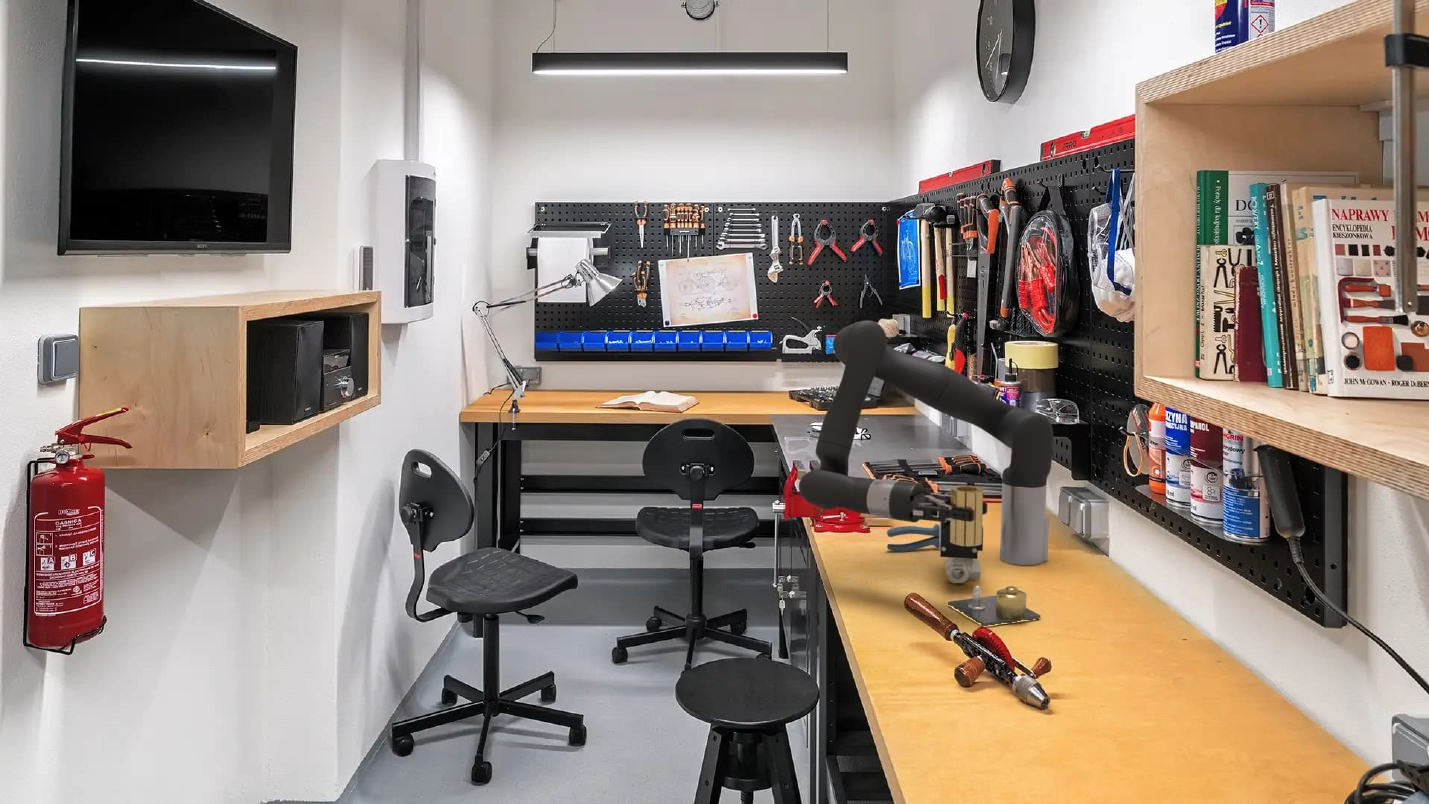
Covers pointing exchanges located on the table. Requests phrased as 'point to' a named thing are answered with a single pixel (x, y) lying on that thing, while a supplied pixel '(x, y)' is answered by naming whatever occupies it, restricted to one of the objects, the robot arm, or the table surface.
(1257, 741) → the table surface
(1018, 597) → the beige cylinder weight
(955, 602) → the carrier plate
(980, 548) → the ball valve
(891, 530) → the pliers
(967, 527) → the brass grooved sleeve
